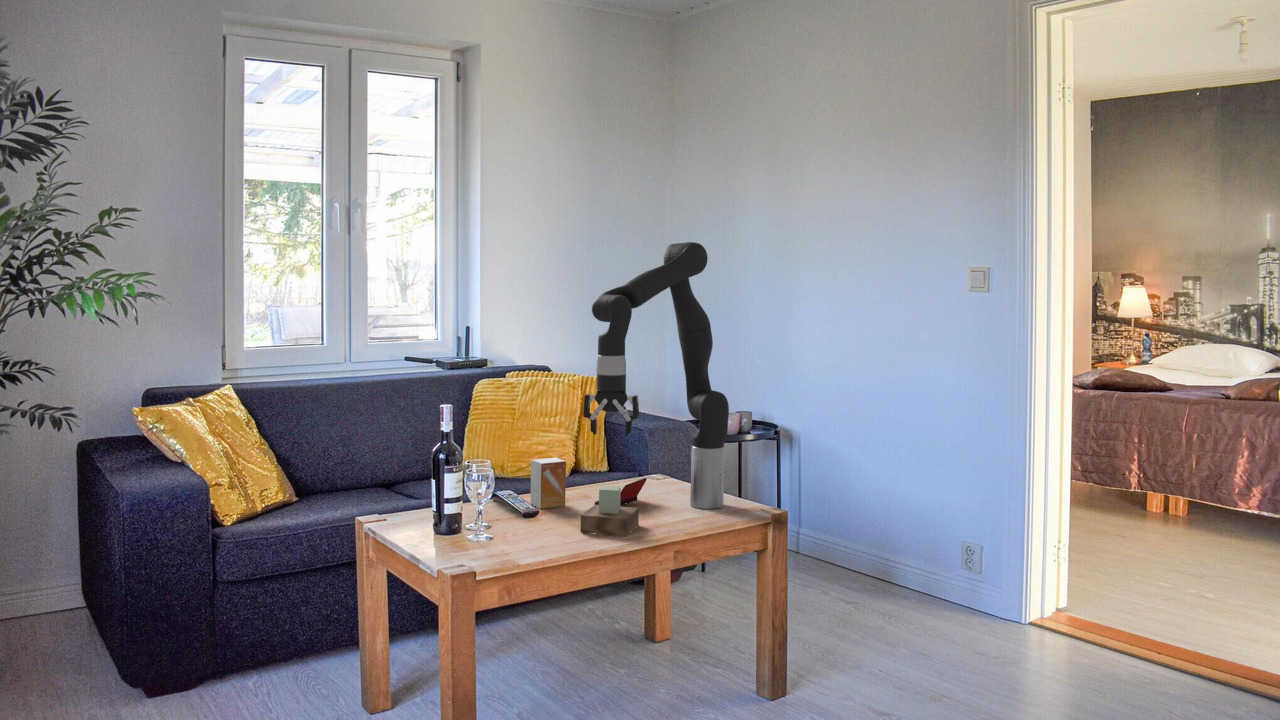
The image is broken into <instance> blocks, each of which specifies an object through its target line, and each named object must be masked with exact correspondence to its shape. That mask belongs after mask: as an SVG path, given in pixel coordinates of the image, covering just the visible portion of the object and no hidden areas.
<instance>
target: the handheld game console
mask: <svg viewBox="0 0 1280 720" xmlns="http://www.w3.org/2000/svg"><path fill="white" fill-rule="evenodd" d="M646 482H647V478H646V477H644V478H641V479H639V480H635V481H634V482H633V481H632V482H630V483H627V484H625V485H624V486H623V488H622V490H621V499H620V506H621V507H623V506H624V505H626V504H625V503H628V504H630V502H631V503H633V501H634V502H636V501H638V496H639V494H640V492H641V490H642V489H643V487H644V485H645V483H646ZM594 505H599V500H596V501H594ZM622 505H623V506H622Z"/></svg>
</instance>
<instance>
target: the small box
mask: <svg viewBox="0 0 1280 720" xmlns="http://www.w3.org/2000/svg"><path fill="white" fill-rule="evenodd" d="M566 473H567V461H566V460H564V459H561V458H559V457H556V456H555V457H549V458H546V457H545V458H540V459H539V458H538V459H537V458H536V459H531V460H530V505H531V504H533V505H534V506H533V505H532V506H533V507H535V506H536V507H535V508H537V509H541V510H543V509H549V508H560V507H565V506H566V487H567V486H566V485H567V484H566V481H567V480H566V478H567V474H566Z"/></svg>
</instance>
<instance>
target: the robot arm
mask: <svg viewBox="0 0 1280 720" xmlns="http://www.w3.org/2000/svg"><path fill="white" fill-rule="evenodd" d="M708 258H709V257H708V252H707V250H706V248H705V247H704V246H703V245H702V244H701V243H699V242H694V241H693V242H691V241H688V242H678V243H676V242H675V243H671V244H669V245H667V247H666V248H665V250H664V253H663V264H662V265H660V266H657V267H655V268H652V269H649V270H647V271H644V272H642V273H640V274H639V275H637V276H635V277H632V279H630V280H629V281H627V282H626V283H624V284H623V285H620V286H618V287H615V288H612V289H609V290H607V291H605V292H603V293H601V294H599V295H598V296H597V297H596V298H595V299H594V301H593V303H592V305H591V313H592V315H593V317H594V318H595V319H596V320H597V321H599V322H603V323H609V326H608V329H607V331H603V332H600V333H599V335H598V338H597V361H596V369H595V370H596V392H595V393H596V394H590V393H586V394H585V395H584V398H583V399H584V400H583V414H582V415H583V418H587V419H589V421H590V432H591V433H592V436H593V435H597V434H598V419H597V417H598V416H599V415H600V413H602V411H603V412H605V413H608V412H611V413H612V412H613V413H617V412H619V413H620V414H621V415H622V416H623V417H624V419H625V436H627V437H629V436H630V434H631V433H632V430H633V421H634V420H637V419H638V418H639V417H640V408H639V407H640V406H639V395H637V394H634V395H627V361H626V339H627V335H628V331H629V328H630V327H629V326H630V323H631V319H632V314H633V310H634V309H637V308H639V307H641V306H643V304H646V303H647V302H648V301H650V300H651V299H653V298H654V297H656V296H658V295H659V294H660V293H661V292H662V293H663V292H664V291H666V290H667V289H669V290H670V294H671V298H672V302H673V303H672V304H673V308H674V313H675V320H676V325H677V333H678V334H677V335H678V339H679V340H678V341H679V344H680V349H681V357H682V361H683V363H682V364H683V369H684V374H685V385H686V386H685V388H686V403H687V409H688V412H689V414H690V415H691V417H692V418H694V419H695V420H697V421H699V428H698V432H697V433H695V434H693V435H692V437H691V455H690V456H691V459H690V503H689V504H690V506H691V507H693V508H697V509H705V510H707V509H708V510H715V509H722V508H723V506H724V492H725V491H724V490H725V487H724V486H725V485H724V484H725V471H724V470H725V469H724V464H725V461H724V460H725V459H724V458H725V441H726V438H727V435H728V430H729V414H730V408H729V407H730V406H729V405H730V404H729V401H728V398H727V396H726V395H725V394H724V393H722V392H720V391H716V390H712V386H711V382H710V377H709V376H710V375H709V364H710V359H711V356H712V351H713V345H714V343H713V341H714V340H713V334H712V328H711V322H710V319H709V316H708V315H707V313H706V312H705V310H704V308H703V307H702V305H701V304H700V303H699V301H698V299H697V298H696V297H695V295H694V293H693V290H692V287H691V282H690V278H692V277H695V276H697V275H699V274H701V273H703V272H704V270H705V269H706V267H707V263H708ZM632 309H633V310H632ZM594 400H595V402H596V403H597V405H598V406H597V407H596V409H594V412H593V413H591V404H592V403H593V402H594ZM627 401H628V402H629V403H630V405H631V406H632V414H631V413H630V412H629V410H628V408H627V407H626V405H625V404H626V403H627Z"/></svg>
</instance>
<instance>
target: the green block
mask: <svg viewBox="0 0 1280 720" xmlns="http://www.w3.org/2000/svg"><path fill="white" fill-rule="evenodd" d="M621 487H622V486H618V485H617V486H616V485H615V486H614V485H601V486H600V487H599V490H598V501H599V513H617V514H618V513H619V511H620V499H621V491H622V490H621Z"/></svg>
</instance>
